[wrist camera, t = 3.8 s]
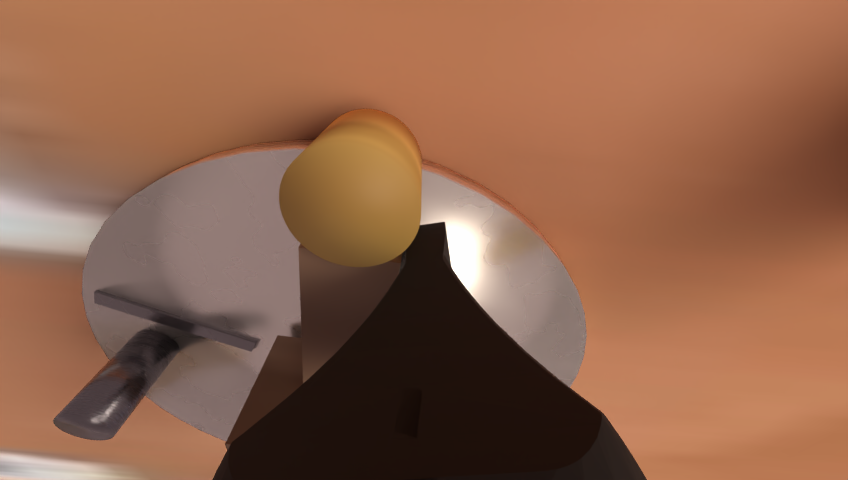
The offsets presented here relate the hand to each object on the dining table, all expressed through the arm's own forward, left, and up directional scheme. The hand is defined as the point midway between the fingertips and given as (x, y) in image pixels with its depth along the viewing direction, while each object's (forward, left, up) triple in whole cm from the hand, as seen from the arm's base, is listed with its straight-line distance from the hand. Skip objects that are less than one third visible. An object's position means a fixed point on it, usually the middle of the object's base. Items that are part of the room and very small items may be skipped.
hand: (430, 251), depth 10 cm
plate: (-9, +2, -2) cm, 9 cm away
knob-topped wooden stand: (-4, +2, -1) cm, 5 cm away
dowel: (-9, +10, -2) cm, 13 cm away
